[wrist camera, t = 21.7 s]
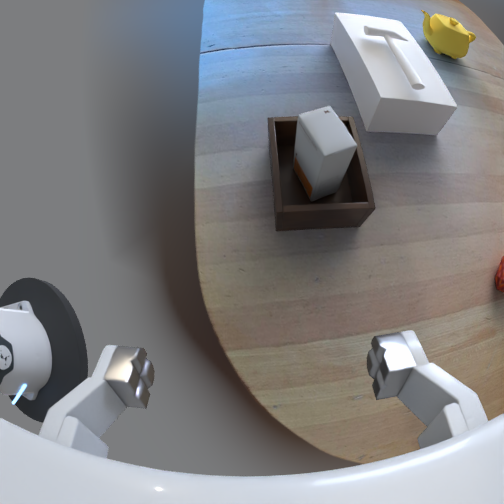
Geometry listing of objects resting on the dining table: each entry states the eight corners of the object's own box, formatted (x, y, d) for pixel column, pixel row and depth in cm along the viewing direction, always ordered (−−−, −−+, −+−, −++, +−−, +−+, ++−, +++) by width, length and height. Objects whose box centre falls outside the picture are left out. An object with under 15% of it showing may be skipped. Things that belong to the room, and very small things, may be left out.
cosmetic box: (291, 167, 40) (296, 113, 28) (317, 158, 40) (330, 103, 28) (310, 204, 38) (324, 156, 27) (337, 193, 38) (359, 145, 27)
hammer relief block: (391, 49, 47) (402, 13, 36) (436, 135, 41) (463, 98, 30) (330, 43, 47) (336, 3, 37) (366, 131, 41) (385, 86, 31)
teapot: (418, 52, 47) (431, 20, 36) (403, 28, 49) (412, -2, 39) (473, 69, 45) (489, 42, 35) (456, 44, 48) (468, 18, 38)
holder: (275, 231, 39) (276, 212, 32) (268, 145, 42) (267, 117, 35) (360, 226, 38) (375, 208, 31) (343, 143, 41) (353, 116, 35)
